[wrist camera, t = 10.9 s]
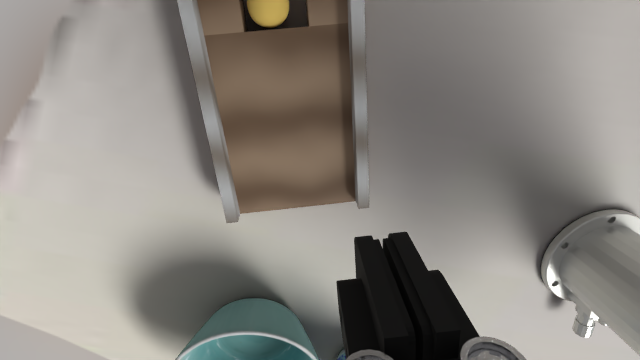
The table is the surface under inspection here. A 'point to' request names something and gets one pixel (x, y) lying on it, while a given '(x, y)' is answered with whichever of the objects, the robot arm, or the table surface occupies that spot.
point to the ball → (268, 12)
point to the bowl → (251, 334)
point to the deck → (282, 104)
